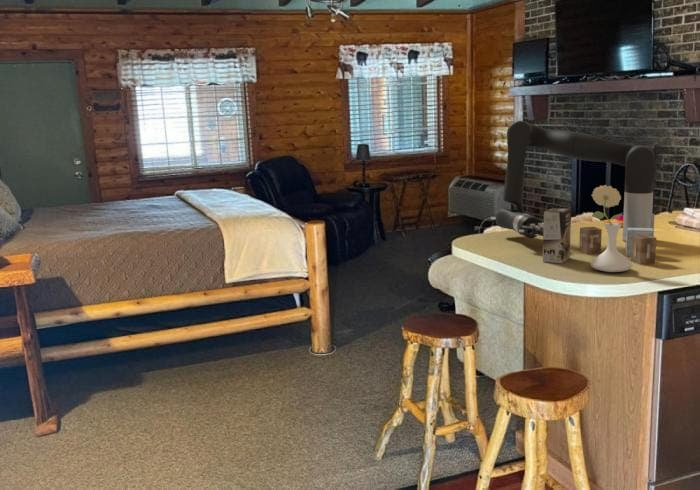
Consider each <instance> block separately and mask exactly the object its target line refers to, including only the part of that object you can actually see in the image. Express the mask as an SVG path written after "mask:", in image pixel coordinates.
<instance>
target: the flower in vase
mask: <svg viewBox="0 0 700 490" xmlns="http://www.w3.org/2000/svg"><path fill="white" fill-rule="evenodd" d="M591 197H592V199H593V201H594V202H595V204H597V205H598V206H603V212H601V211H599V210H598V211H595V212H594V213H593V214H591V218H596V219H600V220H602V219H604V217H605V218H606V220H608V221H609V223H605V224H604V223H603V226H604V227H605V229H606V232H607V233H606V234H607V239H608V240H607V247H606V249H605V250H604V251H603V252H601V253H599V254H598V255H597V256H596V257H595V258H593V259H592V260H591V262H590V266H591V267H592V268H593V269H594V270H598V271H601V272H606V273H620V272H626V271H628V270H631V269H632V268H633V264H632V261H631V260H629V259H628V257H627V256H626V255H623V254H622V253H621V252H620V251H619V250H618V248H617V238H618V232H619V230H620V229H621V228H622V227H621V226H622V224H620V223H611V222H610V220H612V219H616V218H617V217H619V216H620V215H623V214H624V211H623V212H621V213H618V214H615V215H613V216H611V218H610V219H609V217H608V216H607V213H606V208H611V207H615V206H618V205H619V203H620V202H621V201H620V200H622V196H621V194H620V191H618V189H617V188H613V187H612V185H608V186H607V184H604V185H599V186H598V187H595V188H594V189H593V191H592V194H591Z"/></svg>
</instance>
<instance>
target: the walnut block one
mask: <svg viewBox="0 0 700 490" xmlns="http://www.w3.org/2000/svg"><path fill="white" fill-rule="evenodd" d="M656 250H657V237H656V236H654V237H652V236H649V235H636V236H632V245H631V256H630V262H631V263H634V264H637V265H639V266H640V265H641V266H642V265H653V264H654V265H655V264H656V253H657V251H656Z"/></svg>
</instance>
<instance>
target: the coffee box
mask: <svg viewBox="0 0 700 490" xmlns="http://www.w3.org/2000/svg"><path fill="white" fill-rule="evenodd" d="M571 224H572V208H570V207H569V208H567V207H566V208H564V207H563V208H561V207H560V208H556V207H555V208H554V207H552V208H549V209H547V210H544V211H543V225H544V229H543V236H542V241H543V243H542V262H544V263H551V264H552V263H553V264H554V263H555V264H563V263H565V262H566V261H568V260H569V259H570V258H571V231H572V230H571V227H572V225H571Z"/></svg>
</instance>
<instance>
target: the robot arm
mask: <svg viewBox="0 0 700 490" xmlns="http://www.w3.org/2000/svg"><path fill="white" fill-rule="evenodd" d="M506 138H507V161H506V172H505V179H504V188H503V197H502V199H503V201H504V202H506V203H510V204H512V205H513V208H501V209H499V210H498V211H497V212H496V214H495V222H496V224H497V226H498V227H500V228H502V229H507V230H513V231H515V232H516V233H518V234H519V235H521V236H522V237H526V238H528V239H535V238H537V237H543V229H544V223H542V221H541V220H540V219H539V218H538V217H536V216H534V215H531V214H528V213H525V210H524V201H523V196H524V188H525V161H526V153H527V149H528V148H536V149H541V150H542V149H544V150H546V151H550V152H551V153H555V154H557V155H561V156H563V157H567V158H570V159H575V160H579V161H580V160H581V161H584V162H587V161H589V162H595V163H596V162H599V163H609V164H610V163H611V164H615V165H619V166H622V167H625V169H624V170H625V171H624V174H625V175H624V196H623V198H624V199H623V215H624V218H623V227H622V241H624V242H626V230H627V228H652V229H653V230H654V231H655V216H656V215H655V213H653V204H654V201H653V200H654V190H655V189H654V186H655V173H656V172H655V170H656V155H655V152H654V151H653V150H652V148H650V147H649V146H646V145H643V144H642V145H641V144H628V143H623V142H622V143H621V142H620V143H619V142H614V141H613V140H612V141H611V140H608V139H605V138H603V137H598V136H595V135H591V134H587V133H583V132H577V131H571V130H559V129H549V128H545V127H541V126H537V125H535V124H532V123H530V122H527V121H523V120H517V121H514V122H512V123H511V124H510V125H509V127H508V128H507V131H506Z"/></svg>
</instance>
